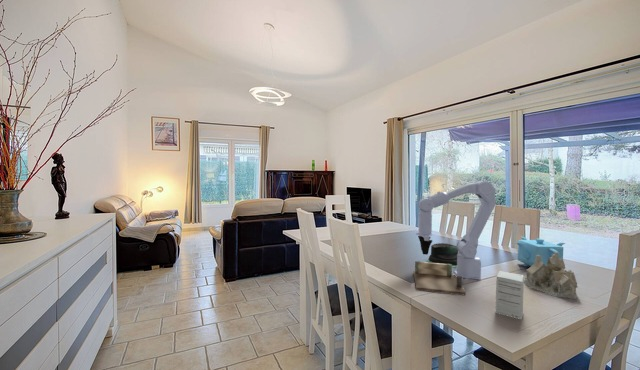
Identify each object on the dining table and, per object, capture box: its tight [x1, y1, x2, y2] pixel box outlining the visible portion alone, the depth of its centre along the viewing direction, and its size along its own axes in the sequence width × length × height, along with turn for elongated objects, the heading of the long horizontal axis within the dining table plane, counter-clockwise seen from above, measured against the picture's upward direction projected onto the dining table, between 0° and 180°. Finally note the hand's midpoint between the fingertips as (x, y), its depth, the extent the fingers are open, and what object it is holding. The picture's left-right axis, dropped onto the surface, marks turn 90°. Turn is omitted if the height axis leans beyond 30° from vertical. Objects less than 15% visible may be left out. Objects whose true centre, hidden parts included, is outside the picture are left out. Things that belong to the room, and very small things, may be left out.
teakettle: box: [514, 236, 566, 267], centre depth 142 cm, size 19×19×15 cm
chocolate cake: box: [425, 242, 459, 268], centre depth 152 cm, size 20×20×9 cm
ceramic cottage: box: [524, 252, 578, 300], centre depth 115 cm, size 16×16×15 cm
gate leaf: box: [414, 260, 453, 276], centre depth 128 cm, size 16×2×5 cm, turn 75°
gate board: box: [413, 270, 467, 296], centre depth 121 cm, size 18×20×5 cm
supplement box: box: [495, 270, 525, 320], centre depth 96 cm, size 7×7×13 cm
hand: (424, 252), depth 134 cm, fingers open, 5 cm apart
